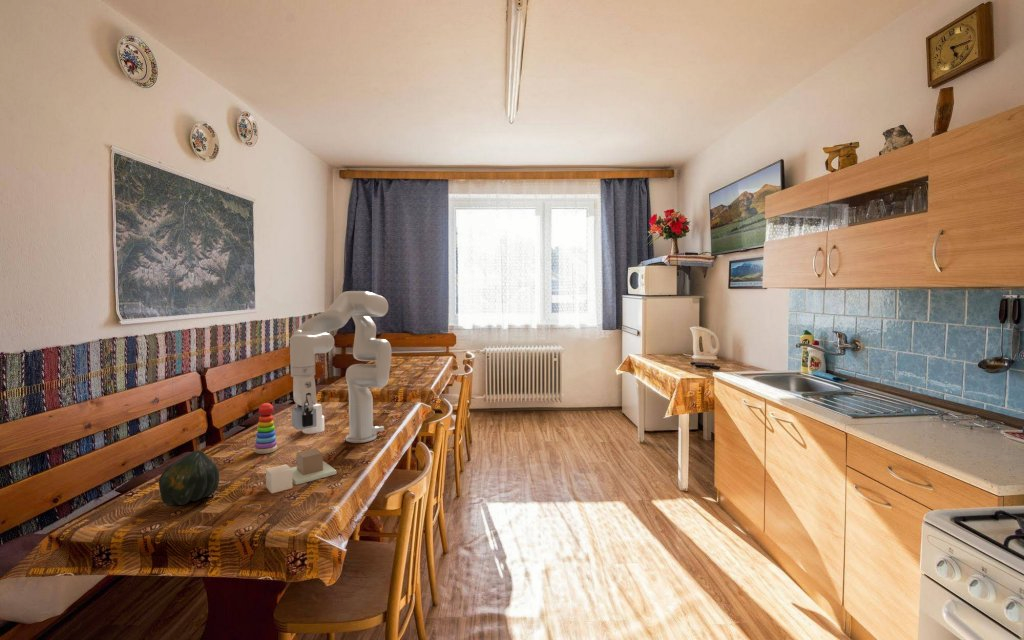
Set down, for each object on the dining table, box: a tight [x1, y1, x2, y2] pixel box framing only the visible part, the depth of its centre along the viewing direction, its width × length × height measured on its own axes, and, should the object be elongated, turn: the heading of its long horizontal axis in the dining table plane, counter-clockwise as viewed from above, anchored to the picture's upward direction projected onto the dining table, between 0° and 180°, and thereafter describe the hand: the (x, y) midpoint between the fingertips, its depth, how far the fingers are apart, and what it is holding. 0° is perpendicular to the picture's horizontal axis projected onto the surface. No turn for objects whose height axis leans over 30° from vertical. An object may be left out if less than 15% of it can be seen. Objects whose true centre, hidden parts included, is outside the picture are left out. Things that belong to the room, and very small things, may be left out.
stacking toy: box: [253, 402, 278, 455], centre depth 175 cm, size 8×8×19 cm
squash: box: [158, 449, 220, 507], centre depth 135 cm, size 14×15×15 cm
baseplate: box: [290, 447, 337, 486], centre depth 154 cm, size 13×13×7 cm
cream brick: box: [265, 463, 294, 494], centre depth 143 cm, size 6×6×6 cm
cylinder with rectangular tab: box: [301, 402, 325, 435], centre depth 202 cm, size 9×9×12 cm
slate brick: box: [291, 407, 317, 431], centre depth 153 cm, size 6×6×6 cm
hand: (304, 423), depth 153 cm, fingers closed on slate brick, 6 cm apart
